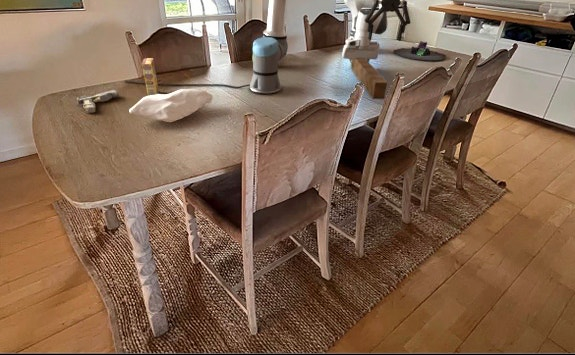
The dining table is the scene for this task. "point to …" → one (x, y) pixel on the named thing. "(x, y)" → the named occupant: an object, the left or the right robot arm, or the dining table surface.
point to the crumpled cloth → (171, 104)
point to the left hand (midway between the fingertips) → (384, 40)
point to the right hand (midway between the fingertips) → (358, 66)
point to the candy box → (150, 76)
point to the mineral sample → (419, 53)
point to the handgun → (95, 100)
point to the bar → (369, 77)
